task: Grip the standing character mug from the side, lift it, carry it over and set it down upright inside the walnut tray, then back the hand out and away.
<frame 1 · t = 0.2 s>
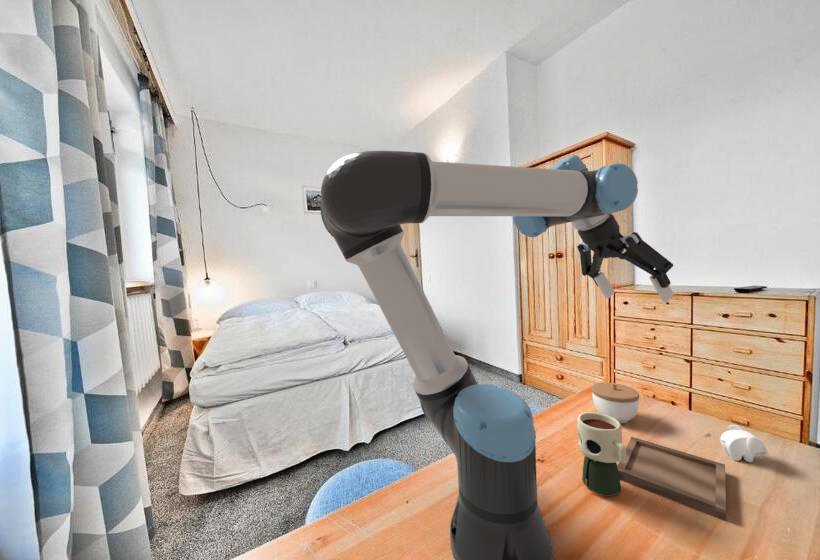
hand: (636, 296, 70), 34 cm above the table, tool tilted 35°, fingers open, 13 cm apart
lidded jar: (615, 418, 81), on the table
walnut tray: (670, 475, 59), on the table
character mug: (601, 487, 57), on the table
elephant figurine: (741, 459, 63), on the table
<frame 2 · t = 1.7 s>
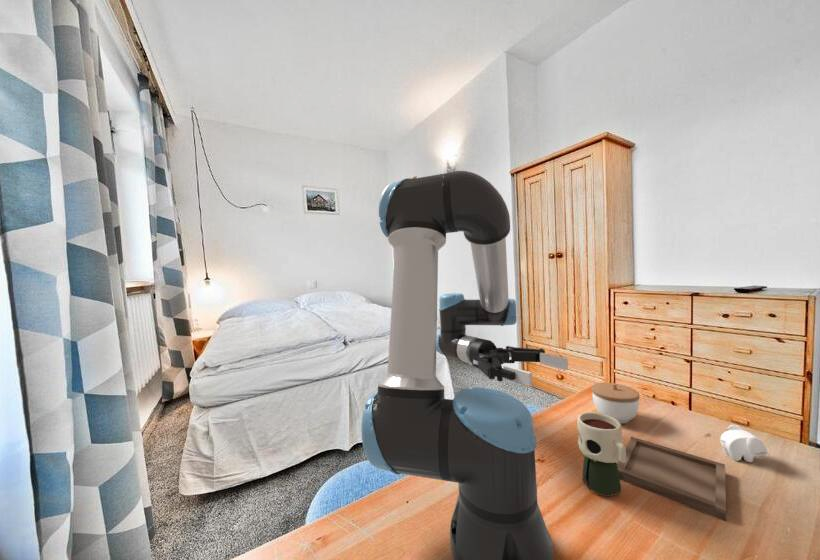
hand: (550, 371, 64), 20 cm above the table, tool horizontal, fingers open, 13 cm apart
nothing on the table moved.
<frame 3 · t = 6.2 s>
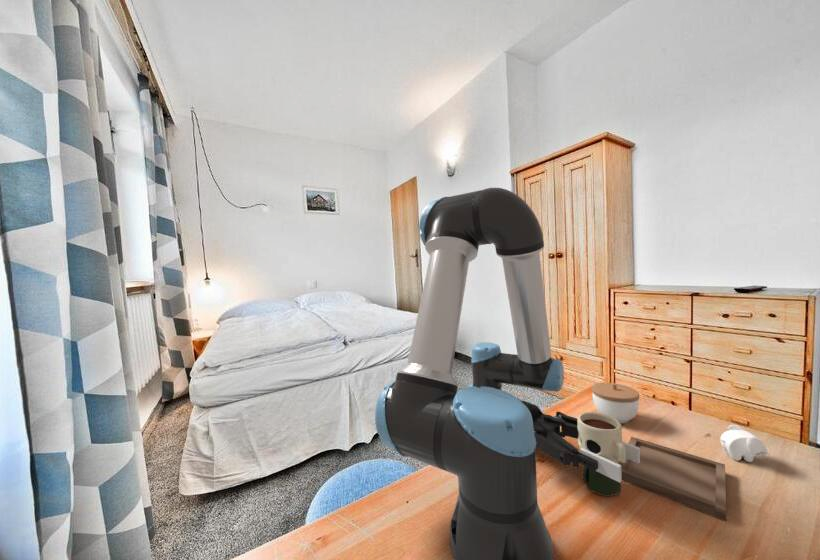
hand: (629, 464, 53), 7 cm above the table, tool horizontal, fingers closed on character mug, 7 cm apart
character mug: (601, 487, 57), on the table, touching gripper
everything else where it was.
when the fingers open (10 cm above the table, at t = 11.2 s): character mug drops 2 cm, resting on walnut tray.
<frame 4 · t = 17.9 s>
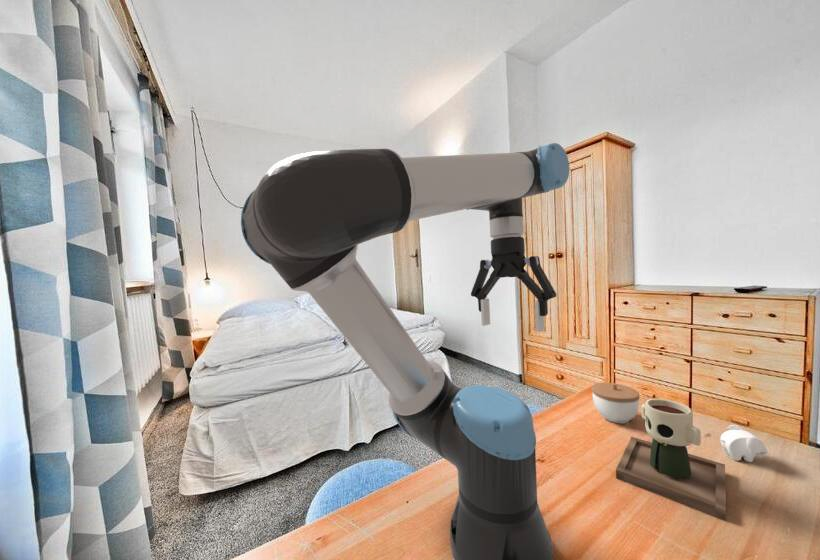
hand: (511, 327, 70), 29 cm above the table, tool pointing down, fingers open, 13 cm apart
character mug: (669, 471, 59), point 1 cm above the table, touching walnut tray
everything else where it was.
at the end: character mug inside the target area on the walnut tray (0.1 cm from its centre), point 0.8 cm above the walnut tray's base; character mug tilted 0°; the gripper is holding nothing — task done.
